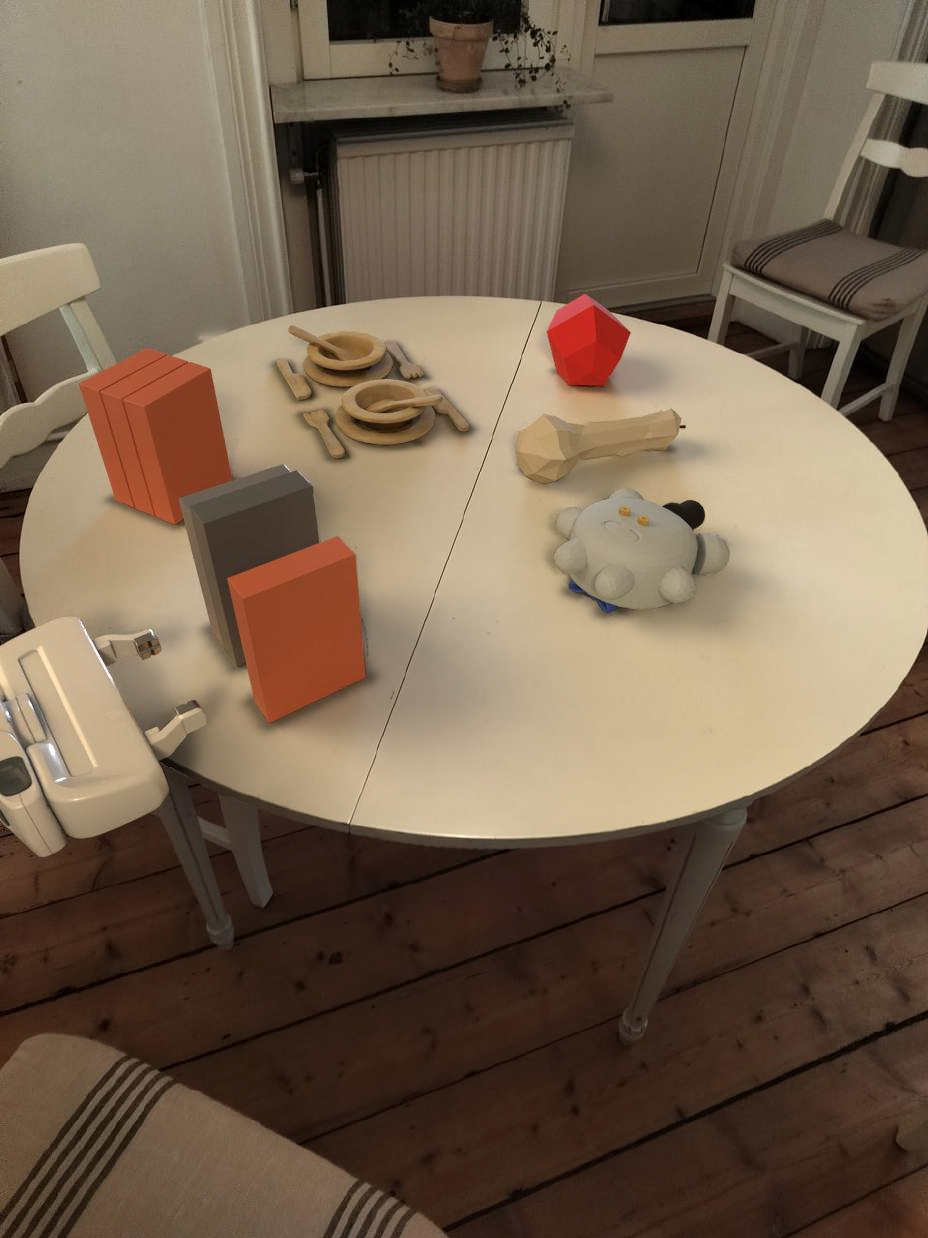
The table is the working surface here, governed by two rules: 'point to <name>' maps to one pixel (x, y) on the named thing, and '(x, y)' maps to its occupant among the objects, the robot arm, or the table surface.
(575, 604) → the table surface
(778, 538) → the table surface
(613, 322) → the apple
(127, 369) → the matching books
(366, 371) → the tableware set
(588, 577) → the figurine
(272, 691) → the terracotta book
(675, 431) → the faceted club
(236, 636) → the grey books
